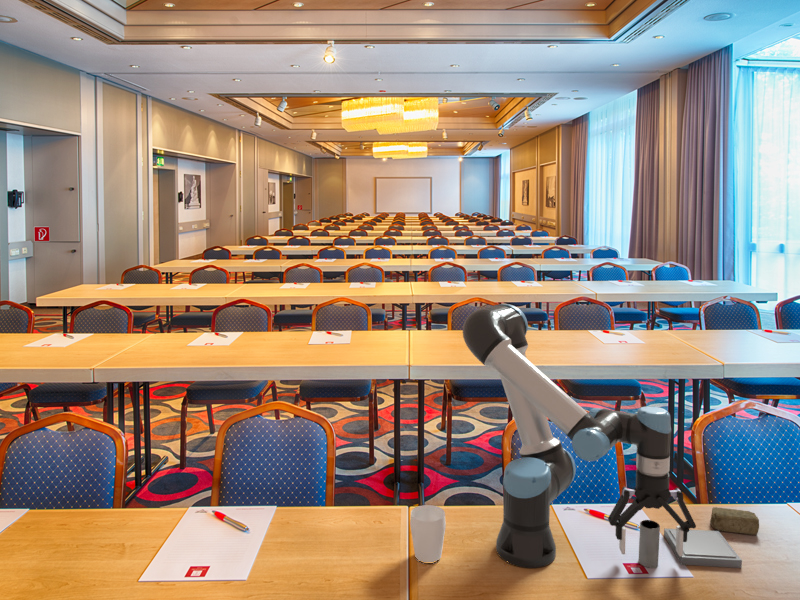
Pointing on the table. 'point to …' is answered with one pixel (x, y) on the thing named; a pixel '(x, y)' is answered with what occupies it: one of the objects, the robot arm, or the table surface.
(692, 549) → the kitchen scale
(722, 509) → the stone block
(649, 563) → the grey tube
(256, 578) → the table surface
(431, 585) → the table surface
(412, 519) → the cup
